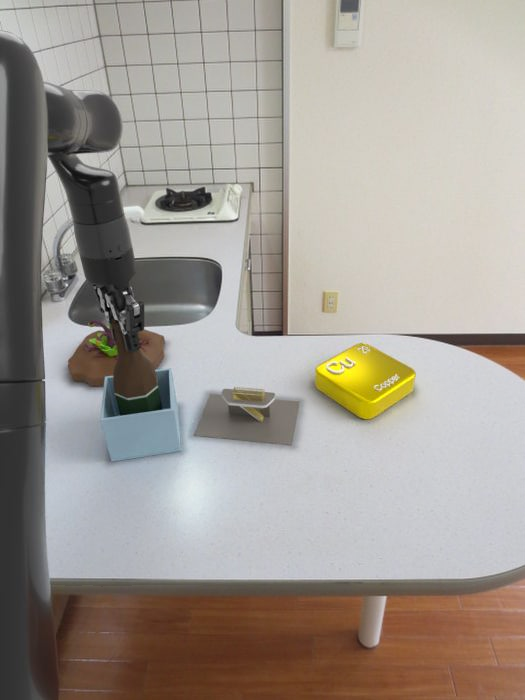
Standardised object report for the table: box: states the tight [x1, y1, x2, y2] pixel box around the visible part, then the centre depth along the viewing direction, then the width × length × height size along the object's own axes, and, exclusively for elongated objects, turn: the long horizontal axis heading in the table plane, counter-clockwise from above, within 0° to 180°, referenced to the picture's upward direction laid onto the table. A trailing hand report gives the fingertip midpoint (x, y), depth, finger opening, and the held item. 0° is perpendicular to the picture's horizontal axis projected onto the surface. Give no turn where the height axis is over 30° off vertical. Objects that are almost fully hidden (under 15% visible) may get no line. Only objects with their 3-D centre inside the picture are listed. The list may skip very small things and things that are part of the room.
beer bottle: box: [112, 318, 163, 416], centre depth 89 cm, size 8×8×24 cm
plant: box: [67, 319, 166, 387], centre depth 113 cm, size 20×20×11 cm
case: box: [99, 367, 182, 462], centre depth 94 cm, size 12×12×10 cm
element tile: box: [314, 342, 417, 420], centre depth 104 cm, size 15×15×5 cm
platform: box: [193, 386, 300, 446], centre depth 97 cm, size 12×18×7 cm, turn 80°
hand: (126, 344), depth 85 cm, fingers closed on beer bottle, 4 cm apart
